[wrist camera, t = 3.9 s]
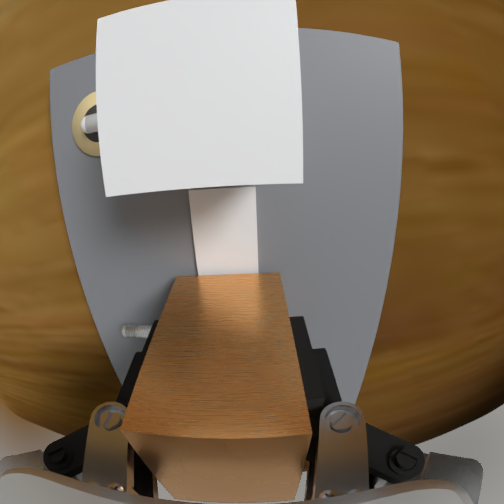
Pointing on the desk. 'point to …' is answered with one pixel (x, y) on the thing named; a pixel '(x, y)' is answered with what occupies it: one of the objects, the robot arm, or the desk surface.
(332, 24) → the desk surface
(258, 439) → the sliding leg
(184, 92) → the slide rail plate
